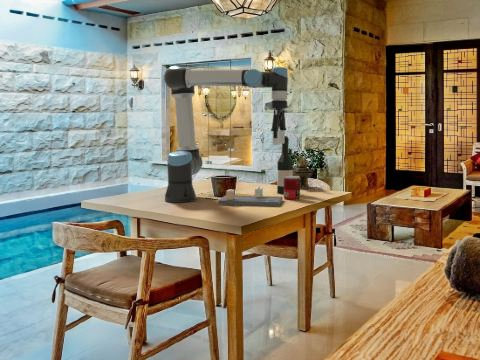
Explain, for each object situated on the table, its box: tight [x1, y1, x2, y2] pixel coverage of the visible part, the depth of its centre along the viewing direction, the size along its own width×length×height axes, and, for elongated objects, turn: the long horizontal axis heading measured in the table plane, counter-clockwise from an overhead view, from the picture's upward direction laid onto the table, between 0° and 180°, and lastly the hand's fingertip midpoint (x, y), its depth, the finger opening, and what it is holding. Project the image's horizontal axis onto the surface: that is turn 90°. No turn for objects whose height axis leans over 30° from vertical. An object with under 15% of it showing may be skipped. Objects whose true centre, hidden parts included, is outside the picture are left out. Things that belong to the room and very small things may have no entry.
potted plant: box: [293, 152, 313, 190], centre depth 291 cm, size 20×10×20 cm, turn 7°
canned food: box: [283, 176, 301, 201], centre depth 255 cm, size 8×8×11 cm
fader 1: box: [225, 188, 236, 200], centre depth 241 cm, size 3×5×4 cm, turn 170°
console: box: [218, 194, 283, 207], centre depth 245 cm, size 28×16×2 cm, turn 80°
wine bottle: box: [276, 135, 294, 195], centre depth 271 cm, size 8×8×30 cm
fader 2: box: [254, 186, 264, 197], centre depth 248 cm, size 3×5×4 cm, turn 170°
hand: (278, 144), depth 252 cm, fingers open, 13 cm apart
